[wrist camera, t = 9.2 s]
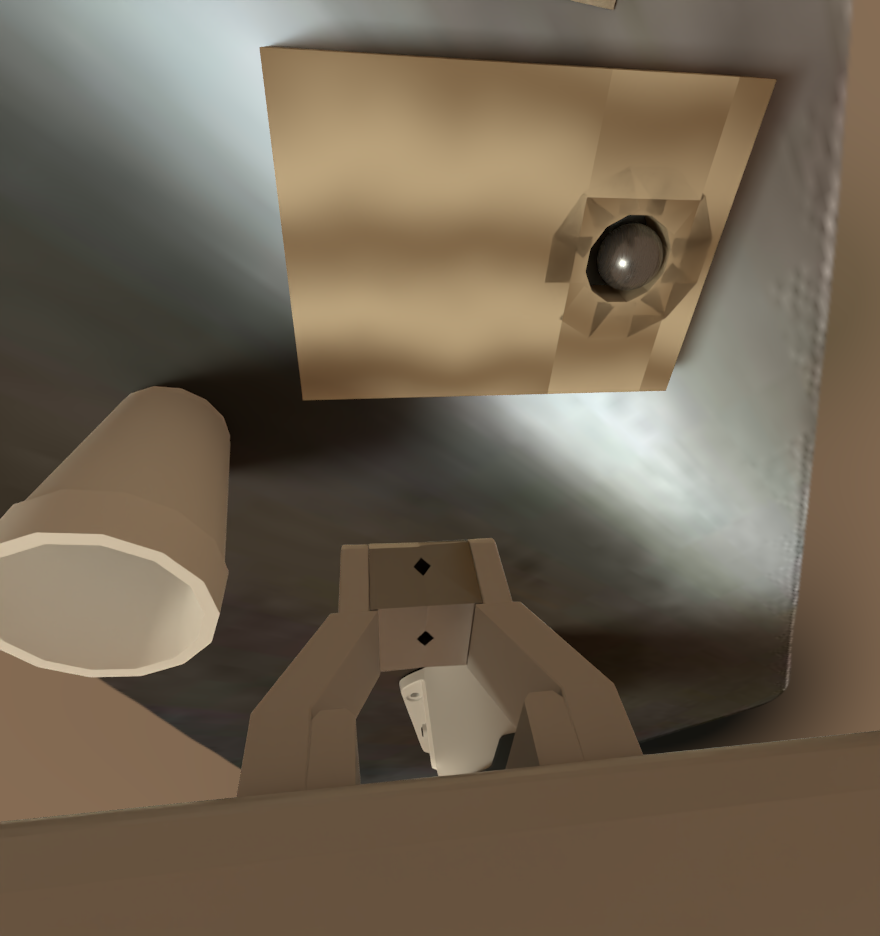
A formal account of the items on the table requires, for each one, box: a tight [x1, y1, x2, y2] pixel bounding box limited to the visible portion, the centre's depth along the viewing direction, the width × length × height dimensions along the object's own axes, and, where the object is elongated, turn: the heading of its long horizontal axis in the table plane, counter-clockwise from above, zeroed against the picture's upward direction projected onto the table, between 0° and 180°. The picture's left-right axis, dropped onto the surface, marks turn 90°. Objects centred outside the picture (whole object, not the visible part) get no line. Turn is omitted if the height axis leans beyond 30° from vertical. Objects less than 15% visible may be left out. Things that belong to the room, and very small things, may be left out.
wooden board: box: [260, 46, 777, 400], centre depth 27 cm, size 15×21×2 cm
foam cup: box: [0, 386, 230, 677], centre depth 27 cm, size 10×9×13 cm
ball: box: [597, 223, 663, 290], centre depth 27 cm, size 3×3×3 cm
